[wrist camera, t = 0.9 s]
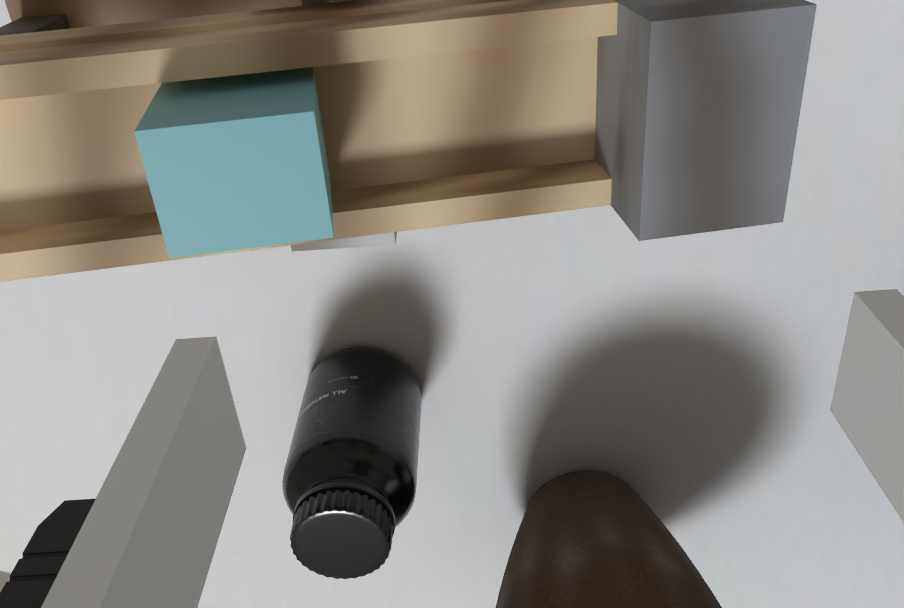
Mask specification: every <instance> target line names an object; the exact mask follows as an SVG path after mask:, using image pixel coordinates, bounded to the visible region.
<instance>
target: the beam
mask: <svg viewBox="0 0 904 608" xmlns="http://www.w3.org/2000/svg"><path fill="white" fill-rule="evenodd" d="M815 11H816V4H814V3H811V2H808V1H805V0H356V1H345V2H335V3H325V4H315V5H305V6H295V7H285V8H275V9H265V10H254V11H244V12H234V13H224V14H214V15H204V16H194V17H184V18H173V19H163V20H153V21H143V22H133V23H123V24H113V25H103V26H92V27H82V28H72V29H62V30H52V31H42V32H32V33H22V34H11V35H1V36H0V282H2V281H10V280H18V279H26V278H34V277H42V276H50V275H58V274H66V273H73V272H81V271H89V270H97V269H105V268H113V267H121V266H129V265H137V264H145V263H153V262H161V261H169V260H177V259H185V258H193V257H200V256H208V255H216V254H224V253H232V252H240V251H248V250H256V249H264V248H272V247H280V246H288V245H296V244H304V243H312V242H320V241H327V240H335V239H343V238H351V237H359V236H367V235H375V234H383V233H391V232H399V231H407V230H415V229H423V228H431V227H439V226H447V225H454V224H462V223H470V222H478V221H486V220H494V219H502V218H510V217H518V216H526V215H534V214H542V213H550V212H558V211H566V210H574V209H582V208H589V207H597V206H605V205H611V206H612V207H613V208H614V210H615V211H616V212H617V214H618V215H619V216H620V217H621V219H622V220H623V221H624V222H625V224H626V225H627V226H628V227H629V229H630V230H631V231H632V232H633V234H634V235H635V236H636V237H637V239H638V240H639V241H641V240H649V239H657V238H664V237H672V236H680V235H687V234H695V233H703V232H710V231H718V230H726V229H733V228H741V227H749V226H756V225H764V224H772V223H779V222H783V218H784V211H785V205H786V198H787V192H788V185H789V179H790V172H791V166H792V159H793V153H794V146H795V140H796V134H797V127H798V121H799V114H800V108H801V101H802V95H803V88H804V82H805V75H806V69H807V62H808V56H809V50H810V43H811V37H812V30H813V24H814V17H815ZM309 67H313V69H314V75H315V82H316V88H317V95H318V101H319V108H320V114H321V121H322V127H323V134H324V140H325V147H326V153H327V160H328V166H329V173H330V181H331V199H332V216H333V233H334V238H327V239H319V240H311V241H303V242H295V243H287V244H279V245H271V246H263V247H255V248H247V249H239V250H231V251H223V252H215V253H207V254H199V255H191V256H184V257H176V258H169V256H168V252H167V249H166V245H165V242H164V238H163V234H162V231H161V227H160V223H159V220H158V216H157V213H156V209H155V205H154V202H153V198H152V194H151V191H150V187H149V184H148V180H147V176H146V173H145V169H144V166H143V162H142V158H141V155H140V151H139V147H138V144H137V140H136V137H135V133H134V131H135V129H136V127H137V125H138V124H139V122H140V120H141V118H142V117H143V115H144V113H145V111H146V110H147V108H148V106H149V104H150V103H151V101H152V99H153V97H154V96H155V94H156V92H157V91H158V89H159V87H160V85H161V84H162V83H168V82H177V81H186V80H196V79H205V78H215V77H224V76H234V75H243V74H252V73H262V72H271V71H281V70H290V69H300V68H309Z"/></svg>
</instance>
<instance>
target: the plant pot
mask: <svg viewBox="0 0 904 608" xmlns="http://www.w3.org/2000/svg"><path fill="white" fill-rule="evenodd" d="M496 608H722V607H721V606H720V604H719V602H718V601H717V599H716V598H715V596H714V595H713V593H712V591H711V590H710V588H709V587H708V585H707V584H706V582H705V581H704V579H703V578H702V576H701V575H700V573H699V572H698V570H697V569H696V567H695V566H694V564H693V563H692V562H691V560H690V559H689V557H688V556H687V554H686V553H685V552H684V550H683V549H682V547H681V546H680V545H679V543H678V542H677V541H676V540H675V538H674V537H673V536H672V534H671V533H670V532H669V531H668V529H667V528H666V527H665V525H664V524H663V523H662V522H661V521H660V519H659V518H658V517H657V516H656V515H655V513H654V512H653V511H652V510H651V509H650V508H649V506H648V505H647V504H646V503H645V502H644V501H643V500H642V499H641V497H640V496H639V495H638V494H637V493H636V492H635V491H634V490H633V489H632V488H631V487H630V486H629V485H628V484H627V483H625V482H624V481H623V480H621V479H619V478H617V477H615V476H613V475H610V474H606V473H602V472H595V471H582V472H574V473H569V474H565V475H562V476H559V477H557V478H555V479H553V480H551V481H550V482H548V483H547V484H545V485H544V486H542V487H541V488H540V489H539V490H538V491H537V492H536V493H535V495H534V496H533V497H532V499H531V501H530V503H529V505H528V508H527V510H526V512H525V515H524V517H523V520H522V522H521V525H520V527H519V530H518V533H517V536H516V538H515V541H514V544H513V547H512V550H511V553H510V556H509V559H508V563H507V566H506V570H505V573H504V577H503V580H502V584H501V588H500V592H499V596H498V601H497V605H496Z"/></svg>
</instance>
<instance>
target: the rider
mask: <svg viewBox="0 0 904 608" xmlns="http://www.w3.org/2000/svg"><path fill="white" fill-rule="evenodd" d="M134 133H135V137H136V140H137V144H138V147H139V151H140V155H141V158H142V162H143V166H144V169H145V173H146V176H147V180H148V184H149V187H150V191H151V194H152V198H153V202H154V205H155V209H156V213H157V216H158V220H159V223H160V227H161V231H162V234H163V238H164V242H165V245H166V249H167V252H168V256H169V258H176V257H184V256H191V255H199V254H207V253H215V252H223V251H231V250H239V249H247V248H255V247H263V246H271V245H279V244H287V243H295V242H303V241H311V240H319V239H327V238H334V233H333V216H332V199H331V181H330V173H329V166H328V160H327V153H326V147H325V140H324V134H323V127H322V121H321V114H320V108H319V101H318V95H317V88H316V82H315V75H314V69H313V67H309V68H300V69H290V70H281V71H271V72H262V73H252V74H243V75H234V76H224V77H215V78H205V79H196V80H186V81H177V82H168V83H162V84H161V85H160V87H159V89H158V91H157V92H156V94H155V96H154V97H153V99H152V101H151V103H150V104H149V106H148V108H147V110H146V111H145V113H144V115H143V117H142V118H141V120H140V122H139V124H138V125H137V127H136V129H135V131H134Z"/></svg>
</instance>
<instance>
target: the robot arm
mask: <svg viewBox="0 0 904 608" xmlns="http://www.w3.org/2000/svg"><path fill="white" fill-rule="evenodd" d="M830 410H831V412H832V414H833V415H834V417H835V418H836V420H837V421H838V423H839V424H840V426H841V427H842V429H843V430H844V432H845V433H846V435H847V437H848V438H849V440H850V441H851V443H852V444H853V446H854V447H855V449H856V450H857V452H858V453H859V455H860V456H861V458H862V460H863V461H864V463H865V464H866V466H867V467H868V469H869V470H870V472H871V473H872V475H873V476H874V478H875V479H876V481H877V483H878V484H879V486H880V487H881V489H882V490H883V492H884V493H885V495H886V496H887V498H888V499H889V501H890V502H891V504H892V506H893V507H894V509H895V510H896V512H897V513H898V515H899V516H900V518H901V519H902V521H903V522H904V296H903V295H902V294H901V293H900V292H899V291H898V290H897V289H892V290H878V291H864V292H854V297H853V302H852V307H851V312H850V316H849V321H848V326H847V331H846V336H845V341H844V345H843V350H842V355H841V360H840V365H839V370H838V374H837V379H836V384H835V389H834V394H833V399H832V403H831V408H830ZM245 450H246V446H245V442H244V439H243V435H242V431H241V428H240V424H239V420H238V416H237V413H236V409H235V405H234V401H233V398H232V394H231V390H230V386H229V383H228V379H227V375H226V372H225V368H224V364H223V360H222V357H221V353H220V349H219V345H218V342H217V338H216V337H204V338H190V339H176V341H175V343H174V345H173V347H172V349H171V350H170V352H169V354H168V356H167V358H166V360H165V362H164V364H163V366H162V368H161V370H160V372H159V374H158V376H157V378H156V380H155V382H154V384H153V386H152V388H151V390H150V392H149V394H148V396H147V398H146V400H145V402H144V404H143V406H142V408H141V410H140V412H139V414H138V416H137V418H136V420H135V422H134V424H133V426H132V428H131V430H130V432H129V434H128V436H127V438H126V440H125V442H124V444H123V446H122V448H121V450H120V452H119V454H118V456H117V458H116V460H115V462H114V464H113V466H112V468H111V470H110V472H109V474H108V476H107V478H106V480H105V482H104V484H103V486H102V488H101V490H100V492H99V494H98V495H97V497H96V499H85V500H69V501H64V502H63V503H62V504H61V505H60V506H59V507H58V508H57V509H55V510H54V511H53V512H52V513H51V514H50V515H49V516H48V517H47V518H46V519H45V520H44V521H43V522H42V523H41V524H40V525H39V526H38V527H37V529H36V531H35V532H34V534H33V536H32V538H31V540H30V541H29V543H28V545H27V547H26V548H25V550H24V552H23V558H22V559H19V561H18V563H17V564H16V566H15V568H14V570H13V571H12V573H11V575H10V581H9V582H6V584H5V586H4V587H3V589H2V591H1V593H0V608H197V606H198V603H199V600H200V597H201V593H202V590H203V587H204V584H205V580H206V577H207V574H208V571H209V567H210V564H211V561H212V558H213V554H214V551H215V548H216V545H217V541H218V538H219V535H220V532H221V528H222V525H223V522H224V518H225V515H226V512H227V509H228V505H229V502H230V499H231V496H232V492H233V489H234V486H235V483H236V479H237V476H238V473H239V470H240V466H241V463H242V460H243V457H244V453H245Z"/></svg>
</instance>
